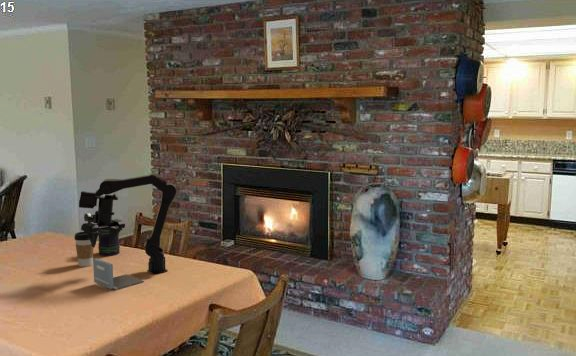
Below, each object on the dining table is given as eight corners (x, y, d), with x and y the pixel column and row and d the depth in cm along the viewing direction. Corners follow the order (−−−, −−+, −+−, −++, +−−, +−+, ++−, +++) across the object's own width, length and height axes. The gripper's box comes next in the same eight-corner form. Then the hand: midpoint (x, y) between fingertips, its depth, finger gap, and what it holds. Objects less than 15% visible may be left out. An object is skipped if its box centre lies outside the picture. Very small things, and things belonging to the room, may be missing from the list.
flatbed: (126, 275, 216) (126, 273, 216) (143, 282, 208) (143, 280, 208) (97, 282, 206) (97, 281, 206) (115, 290, 198) (115, 288, 198)
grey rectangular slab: (97, 281, 205) (96, 258, 204) (113, 287, 198) (112, 264, 197) (93, 282, 204) (92, 259, 203) (109, 289, 196) (108, 265, 195)
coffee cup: (88, 268, 225) (87, 235, 223) (71, 266, 227) (70, 234, 225) (99, 262, 233) (98, 230, 231) (82, 261, 235) (81, 229, 233)
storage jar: (104, 250, 254) (103, 220, 252) (123, 251, 253) (122, 221, 251) (94, 255, 244) (93, 225, 242) (113, 256, 243) (112, 226, 241)
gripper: (109, 204, 225) (106, 238, 226) (73, 207, 208) (70, 244, 210) (127, 208, 219) (124, 244, 221) (92, 212, 203) (88, 250, 204)
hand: (102, 245), depth 214 cm, fingers open, 9 cm apart
